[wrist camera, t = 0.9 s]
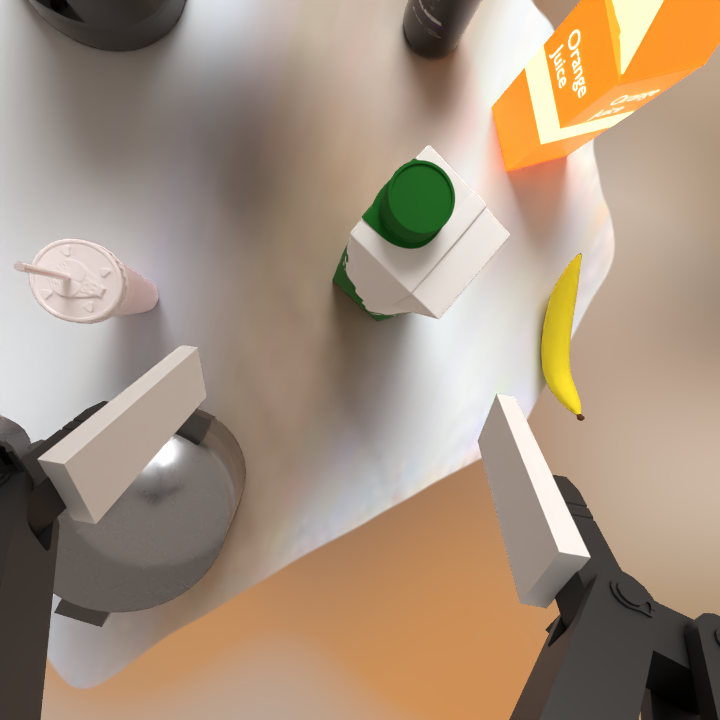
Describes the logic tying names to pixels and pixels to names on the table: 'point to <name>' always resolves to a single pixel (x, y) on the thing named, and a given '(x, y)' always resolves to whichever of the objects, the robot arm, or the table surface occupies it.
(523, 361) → the table surface
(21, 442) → the lid
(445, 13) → the supplement bottle
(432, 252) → the milk carton
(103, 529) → the cooker
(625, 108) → the orange juice
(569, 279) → the banana
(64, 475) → the robot arm
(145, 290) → the smoothie
